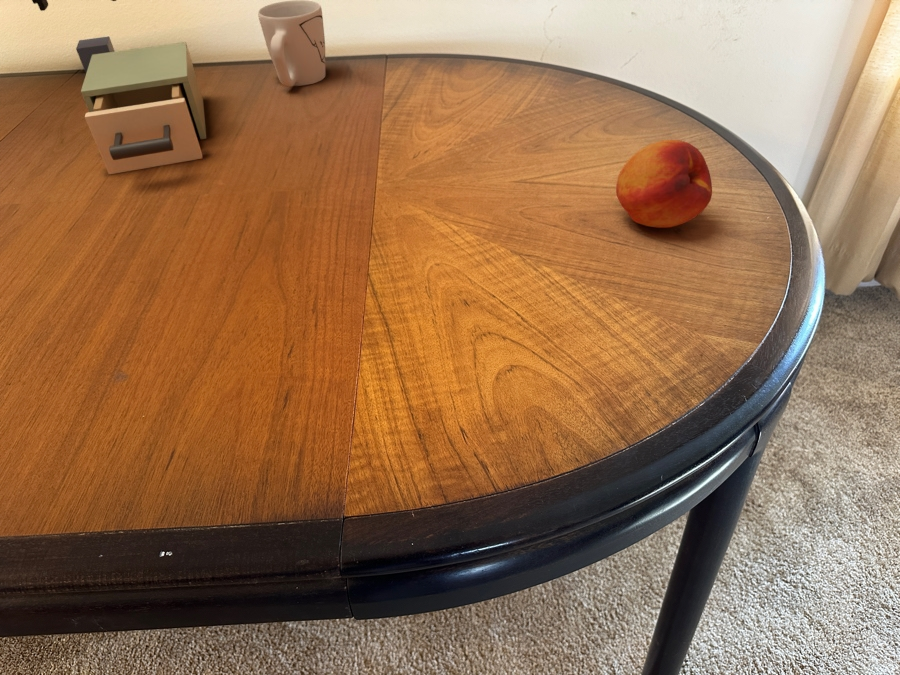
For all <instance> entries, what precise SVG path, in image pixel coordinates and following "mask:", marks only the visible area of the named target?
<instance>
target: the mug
mask: <svg viewBox="0 0 900 675" xmlns="http://www.w3.org/2000/svg"><path fill="white" fill-rule="evenodd" d="M257 16H258V20H259V24H260V27H261V31H262V34H263V37H264V40H265V44H266V47H267V48H266V49H267V51H268V55H269V56H270V59H271V61H272V64H273V67H274V69H275V72H276V75H277V78H278V80H279V82H280V83H281V85H282V86H283V87H286V88H287V87H288V88H290V87H299V86H308V85H312V84H315V83H318V82H320V81H322V80H324V78H326V39H325V37H326V36H325V28H324V17H323V9H322V5H321V4H320V3H319V2H317V1H313V0H285V1H284V0H283V1H278V2H274V3H270V4H268V5H267V4H266V5H265V6H263V7H261V8H260V9H259V10H258V12H257Z"/></svg>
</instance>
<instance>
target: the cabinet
mask: <svg viewBox="0 0 900 675" xmlns="http://www.w3.org/2000/svg"><path fill="white" fill-rule="evenodd" d="M114 51H115V52H108V53H101V54H93V55H92V57H91V60H90V63H89V67H88V70H87V72H85V73H86V74H85V77H84V80H83V83H82V87H81V89H80V93H81V97H82V99H83V101H84V104H85V106H86V108H87V110H88V112H94V110H93V108H94V104H95V100H96V96H97V95H103V94H110V93H117V92H124V91H130V90H137V89H144V88H150V87H157V86H164V85H171V84H177V83H183V85H184V88H185V92H186V95H187V98H188V101H189V104H190V108H191V111H192V114H193V117H194V120H195V128H196V130H197V133H198V136H199V140H204V139H207V130H206V129H207V128H206V117H205V106H204V105H205V104H204V97H203V95H202V91H201V87H200V85H199V81H198V77H197V74H196V71H195V67H194V64H193V60H192V57H191V54H190V50H189V48H188V44H187V42H186V41H182V42H174V43H167V44H166V43H165V44H160V45H159V44H158V45H152V46H146V47H139V48H131V49H123V50H114Z"/></svg>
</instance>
